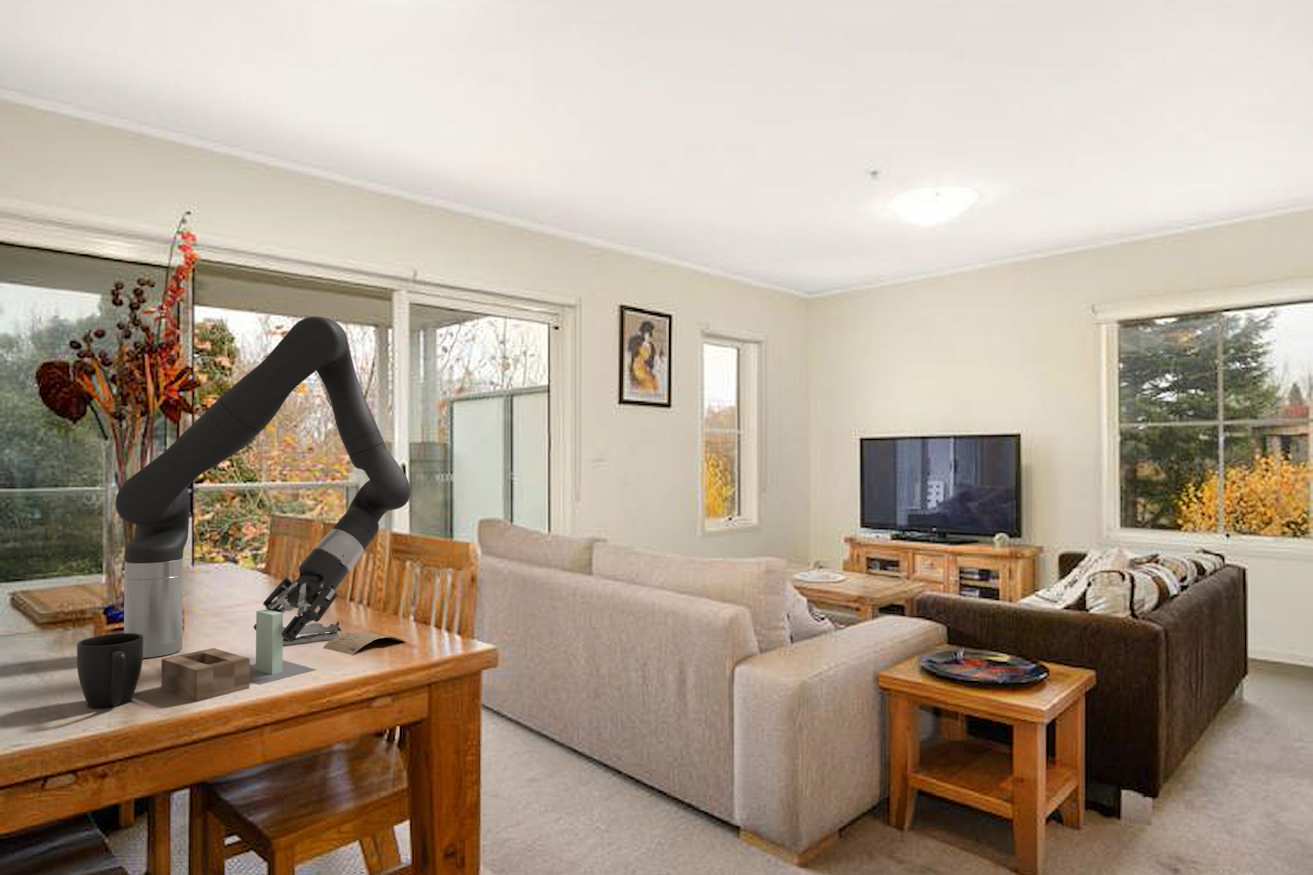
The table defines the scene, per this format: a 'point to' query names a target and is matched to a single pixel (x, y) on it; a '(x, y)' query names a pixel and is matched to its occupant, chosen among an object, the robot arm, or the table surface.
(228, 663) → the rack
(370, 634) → the brown curved sheet
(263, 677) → the mat
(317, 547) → the robot arm
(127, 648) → the mug
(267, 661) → the tall mint green block
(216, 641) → the table surface
